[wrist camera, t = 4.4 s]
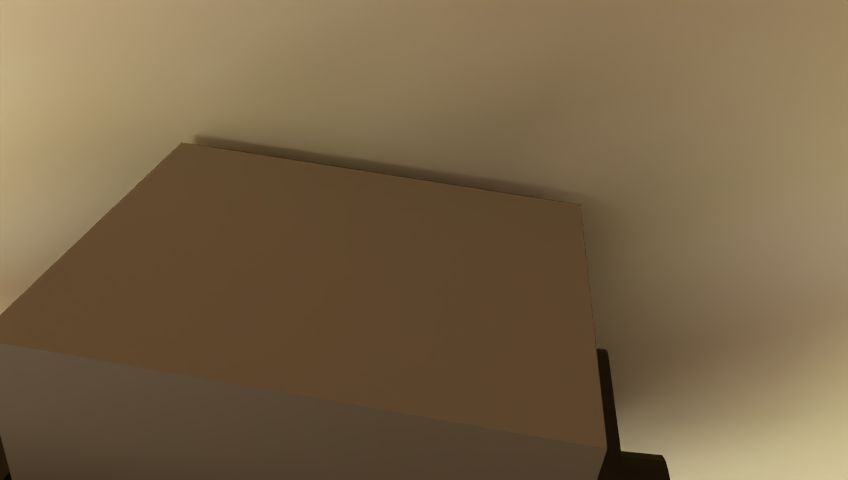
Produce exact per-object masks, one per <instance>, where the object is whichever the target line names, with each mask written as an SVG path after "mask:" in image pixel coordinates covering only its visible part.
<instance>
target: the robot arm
mask: <svg viewBox="0 0 848 480" xmlns="http://www.w3.org/2000/svg"><path fill="white" fill-rule="evenodd" d="M596 352H597V361H598V370H599V379H600V388H601V397H602V406H603V415H604V424H605V433H606V442H607V451H606V454H605V457H604V460H603V463H602V466H601V469H600V472H599V475H598V478H597V480H670V477H669V472H668V468H667V464H666V461H665V459H664V457H663V456H662V455H654V454H644V453H634V452H624V451H621V449H620V441H619V433H618V426H617V418H616V411H615V403H614V395H613V388H612V380H611V373H610V365H609V357H608V352H607V350H606V349H596ZM0 480H12V478H11V474H10V470H9V466H8V463H7V459H6V455H5V451H4V447H3V443H2V439H1V435H0Z"/></svg>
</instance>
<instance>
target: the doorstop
mask: <svg viewBox="0 0 848 480" xmlns="http://www.w3.org/2000/svg"><path fill="white" fill-rule="evenodd" d="M0 435H1V439H2V443H3V447H4V451H5V455H6V459H7V463H8V466H9V470H10V474H11V478H12V480H597V478H598V475H599V472H600V469H601V466H602V463H603V460H604V457H605V454H606V451H607V442H606V433H605V424H604V415H603V406H602V397H601V388H600V379H599V370H598V361H597V352H596V343H595V334H594V325H593V316H592V307H591V298H590V289H589V280H588V271H587V262H586V253H585V244H584V235H583V226H582V217H581V208H580V205H578V204H572V203H565V202H559V201H553V200H546V199H540V198H533V197H527V196H521V195H514V194H508V193H501V192H495V191H489V190H482V189H476V188H469V187H463V186H456V185H450V184H444V183H437V182H431V181H424V180H418V179H412V178H405V177H399V176H392V175H386V174H380V173H373V172H367V171H360V170H354V169H348V168H341V167H335V166H328V165H322V164H316V163H309V162H303V161H296V160H290V159H283V158H277V157H271V156H264V155H258V154H251V153H245V152H239V151H232V150H226V149H219V148H213V147H207V146H200V145H194V144H187V143H181V144H180V145H179V146H178V147H177V148H175V149H174V150H173V151H172V152H171V153H170V154H169V155H168V156H167V157H166V158H165V159H164V160H163V161H162V162H161V163H160V164H159V165H158V166H157V167H156V168H154V169H153V170H152V171H151V172H150V173H149V174H148V175H147V176H146V177H145V178H144V179H143V180H142V181H141V182H140V183H139V184H138V185H137V186H136V187H135V188H133V189H132V190H131V191H130V192H129V193H128V194H127V195H126V196H125V197H124V198H123V199H122V200H121V201H120V202H119V203H118V204H117V205H116V206H115V207H114V208H112V209H111V210H110V211H109V212H108V213H107V214H106V215H105V216H104V217H103V218H102V219H101V220H100V221H99V222H98V223H97V224H96V225H95V226H94V227H93V228H91V229H90V230H89V231H88V232H87V233H86V234H85V235H84V236H83V237H82V238H81V239H80V240H79V241H78V242H77V243H76V244H75V245H74V246H73V247H71V248H70V249H69V250H68V251H67V252H66V253H65V254H64V255H63V256H62V257H61V258H60V259H59V260H58V261H57V262H56V263H55V264H54V265H53V266H52V267H50V268H49V269H48V270H47V271H46V272H45V273H44V274H43V275H42V276H41V277H40V278H39V279H38V280H37V281H36V282H35V283H34V284H33V285H32V286H31V287H29V288H28V289H27V290H26V291H25V292H24V293H23V294H22V295H21V296H20V297H19V298H18V299H17V300H16V301H15V302H14V303H13V304H12V305H11V306H10V307H8V308H7V309H6V310H5V311H4V312H3V313H2V314H1V315H0Z"/></svg>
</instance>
